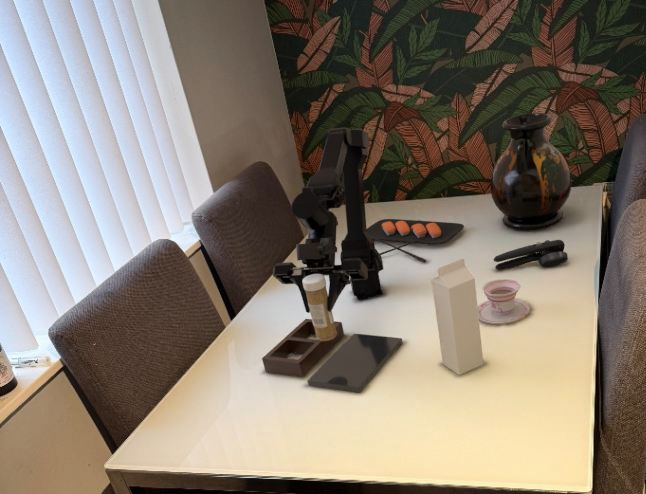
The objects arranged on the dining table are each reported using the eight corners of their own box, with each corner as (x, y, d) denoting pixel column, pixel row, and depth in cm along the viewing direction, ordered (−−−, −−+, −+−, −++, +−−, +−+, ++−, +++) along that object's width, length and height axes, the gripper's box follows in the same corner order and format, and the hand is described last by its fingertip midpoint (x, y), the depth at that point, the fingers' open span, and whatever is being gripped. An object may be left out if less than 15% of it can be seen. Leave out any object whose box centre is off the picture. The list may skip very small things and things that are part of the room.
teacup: (540, 306, 168) (539, 280, 165) (509, 329, 162) (507, 303, 158) (496, 296, 176) (494, 271, 173) (464, 318, 169) (461, 293, 166)
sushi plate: (468, 230, 214) (467, 217, 212) (415, 274, 194) (413, 260, 192) (382, 224, 229) (380, 212, 227) (325, 264, 209) (322, 251, 207)
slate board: (354, 338, 170) (353, 333, 169) (402, 342, 164) (402, 338, 164) (308, 385, 155) (307, 380, 155) (359, 392, 150) (358, 387, 149)
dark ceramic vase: (565, 236, 199) (561, 127, 185) (485, 237, 208) (475, 133, 193) (578, 206, 216) (575, 105, 201) (503, 208, 224) (495, 111, 210)
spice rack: (308, 332, 176) (305, 318, 174) (344, 335, 171) (341, 321, 170) (265, 372, 163) (261, 358, 161) (302, 377, 158) (299, 362, 157)
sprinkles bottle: (341, 334, 158) (329, 275, 150) (326, 344, 155) (312, 284, 148) (326, 329, 160) (313, 271, 153) (311, 339, 158) (297, 280, 151)
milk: (483, 364, 151) (474, 262, 140) (458, 375, 149) (446, 273, 138) (466, 353, 156) (455, 253, 145) (441, 364, 154) (428, 263, 142)
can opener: (564, 255, 190) (563, 233, 187) (569, 266, 184) (568, 244, 181) (493, 264, 191) (491, 243, 189) (495, 275, 186) (493, 254, 183)
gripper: (264, 226, 151) (259, 301, 148) (353, 219, 146) (350, 297, 143) (285, 247, 162) (281, 318, 158) (369, 241, 157) (367, 314, 154)
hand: (318, 311), depth 153 cm, fingers closed on sprinkles bottle, 4 cm apart
